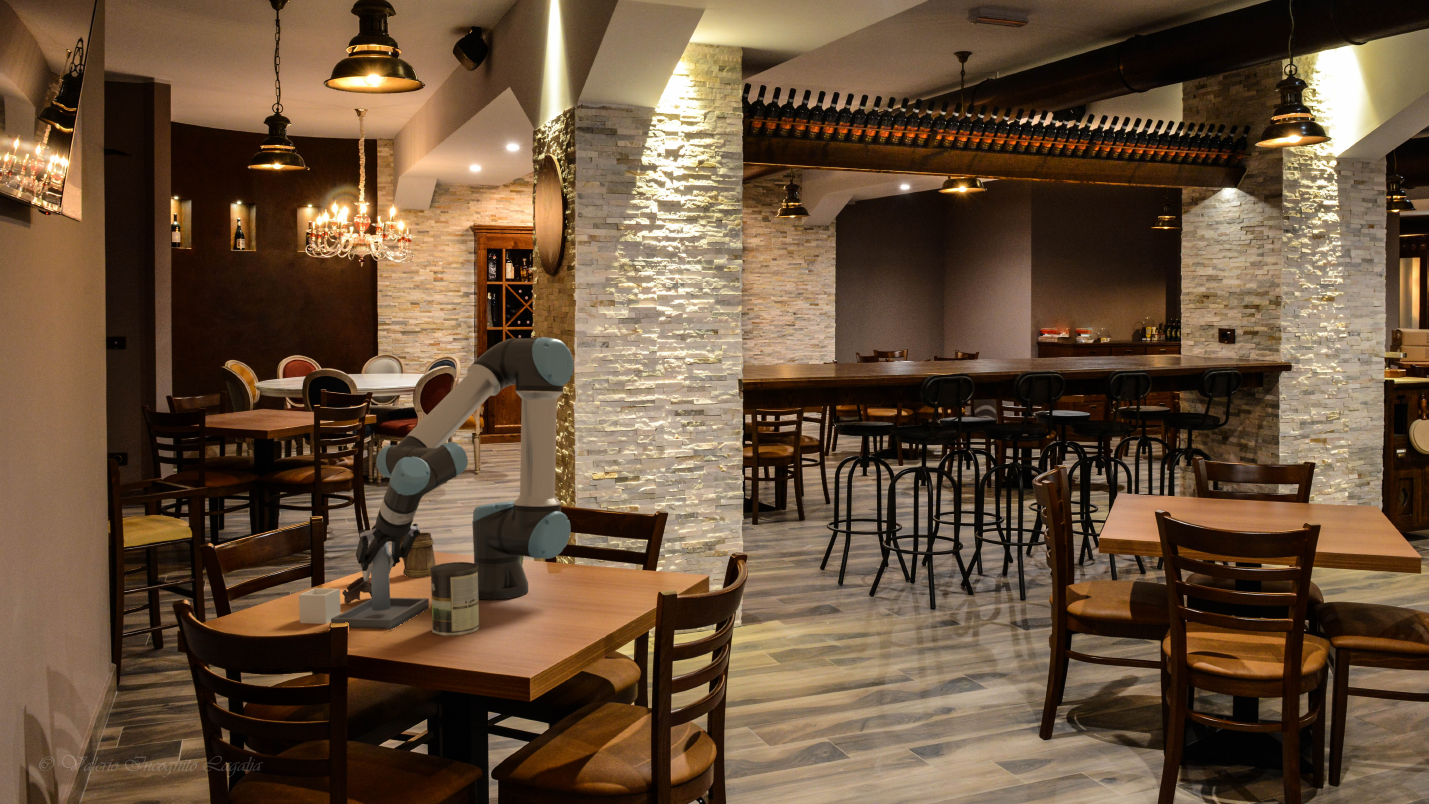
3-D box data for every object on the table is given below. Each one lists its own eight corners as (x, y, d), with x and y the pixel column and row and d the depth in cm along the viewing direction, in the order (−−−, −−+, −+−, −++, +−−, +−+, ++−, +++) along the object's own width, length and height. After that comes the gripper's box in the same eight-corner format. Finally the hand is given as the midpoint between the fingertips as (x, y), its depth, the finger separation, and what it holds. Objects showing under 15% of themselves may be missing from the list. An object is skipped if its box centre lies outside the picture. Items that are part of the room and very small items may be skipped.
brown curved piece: (384, 611, 246) (365, 584, 244) (351, 628, 247) (332, 601, 245) (399, 587, 257) (381, 561, 255) (368, 603, 259) (349, 577, 257)
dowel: (393, 606, 238) (391, 529, 237) (385, 610, 234) (383, 532, 233) (377, 606, 239) (374, 529, 238) (368, 610, 235) (366, 532, 234)
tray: (429, 608, 246) (428, 598, 246) (390, 631, 226) (390, 620, 226) (374, 607, 248) (373, 597, 248) (331, 629, 228) (330, 618, 228)
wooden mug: (389, 572, 288) (387, 508, 287) (439, 569, 290) (437, 506, 289) (384, 579, 279) (382, 513, 278) (436, 576, 281) (434, 511, 280)
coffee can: (427, 636, 221) (425, 572, 221) (437, 624, 232) (435, 562, 231) (476, 635, 222) (474, 570, 221) (483, 622, 232) (481, 561, 232)
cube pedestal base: (340, 618, 238) (339, 588, 237) (326, 626, 231) (325, 595, 231) (315, 618, 239) (314, 588, 238) (299, 625, 232) (298, 594, 232)
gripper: (362, 530, 218) (341, 593, 232) (439, 522, 228) (414, 582, 242) (353, 503, 222) (333, 566, 236) (429, 496, 232) (406, 557, 246)
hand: (374, 574), depth 239 cm, fingers closed on dowel, 4 cm apart
